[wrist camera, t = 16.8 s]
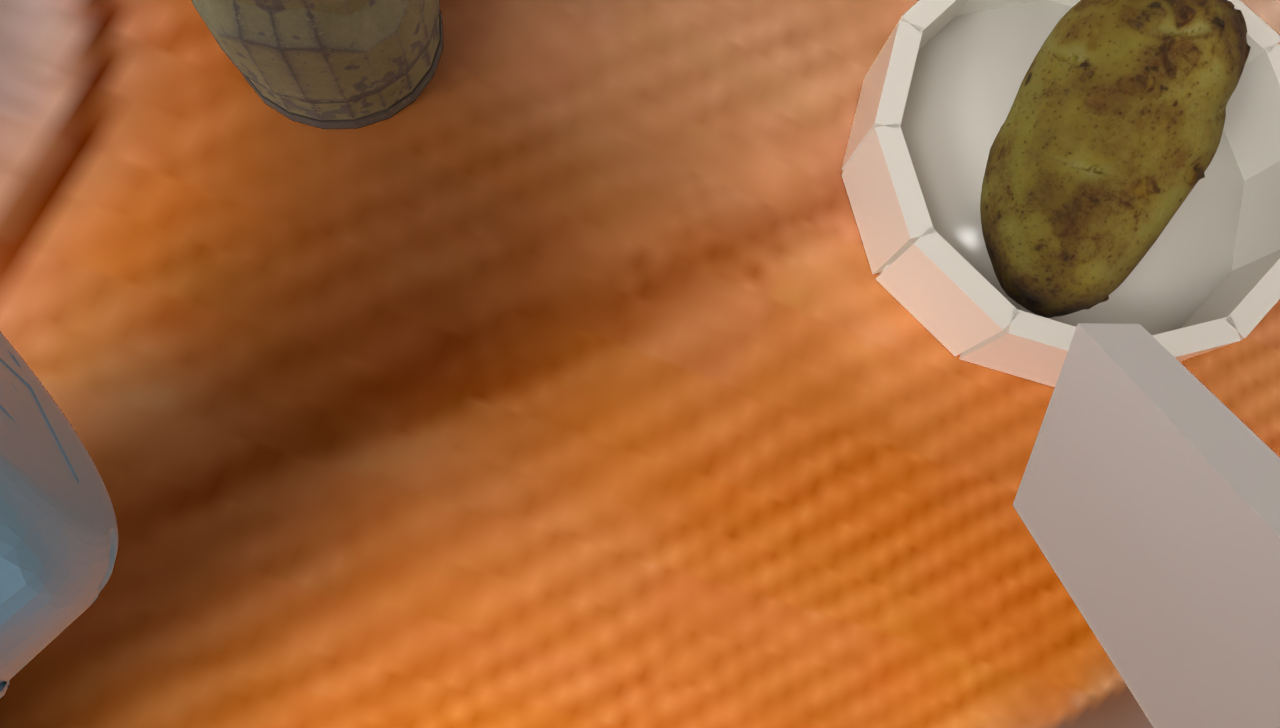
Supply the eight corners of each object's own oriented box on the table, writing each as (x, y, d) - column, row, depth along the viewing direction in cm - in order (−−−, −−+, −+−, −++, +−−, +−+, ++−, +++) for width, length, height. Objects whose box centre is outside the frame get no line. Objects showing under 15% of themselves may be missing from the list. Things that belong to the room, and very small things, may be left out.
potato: (884, 224, 40) (963, 140, 32) (1055, 20, 43) (1166, -103, 35) (1043, 353, 40) (1162, 299, 32) (1206, 137, 42) (1353, 39, 34)
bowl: (1216, 435, 40) (1296, 418, 36) (805, 313, 40) (835, 282, 36) (1268, 62, 45) (1346, 7, 40) (896, -51, 44) (933, -120, 40)
